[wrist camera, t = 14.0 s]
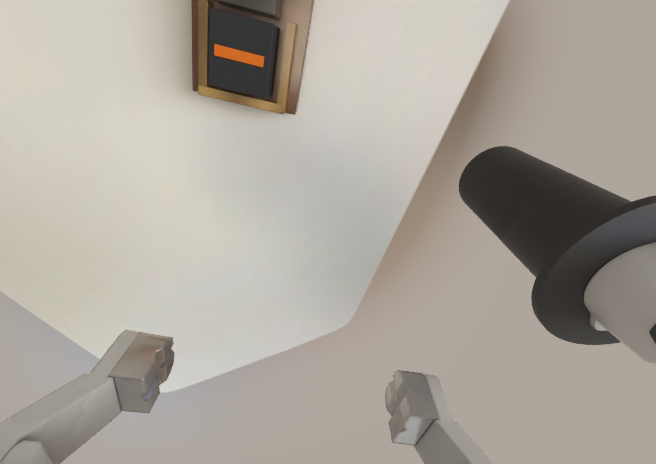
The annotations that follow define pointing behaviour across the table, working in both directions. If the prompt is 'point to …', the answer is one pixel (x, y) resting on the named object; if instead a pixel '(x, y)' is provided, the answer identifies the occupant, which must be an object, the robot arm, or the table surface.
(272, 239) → the table surface
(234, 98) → the wooden display base
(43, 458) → the robot arm
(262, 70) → the black block with stripe
